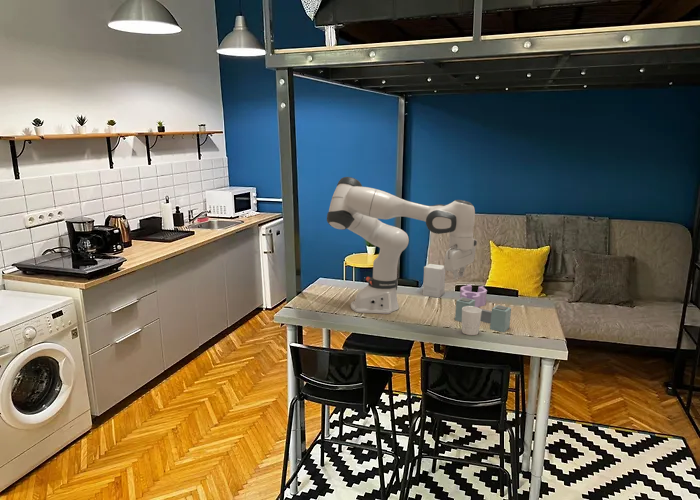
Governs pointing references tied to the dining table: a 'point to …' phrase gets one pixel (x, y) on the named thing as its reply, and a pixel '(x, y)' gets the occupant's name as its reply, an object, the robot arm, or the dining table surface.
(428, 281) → the supplement box
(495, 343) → the dining table surface
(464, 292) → the clip
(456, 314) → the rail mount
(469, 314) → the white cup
